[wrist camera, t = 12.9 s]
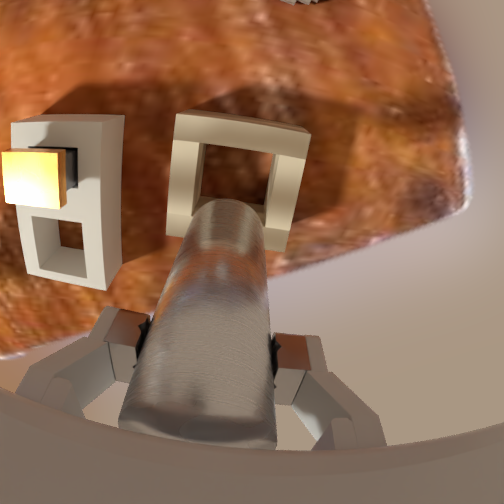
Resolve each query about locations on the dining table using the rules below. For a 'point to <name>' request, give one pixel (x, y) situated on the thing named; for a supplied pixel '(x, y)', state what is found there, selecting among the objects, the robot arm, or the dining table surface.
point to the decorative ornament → (304, 0)
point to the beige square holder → (246, 137)
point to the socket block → (76, 199)
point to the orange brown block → (39, 175)
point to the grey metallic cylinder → (210, 340)
